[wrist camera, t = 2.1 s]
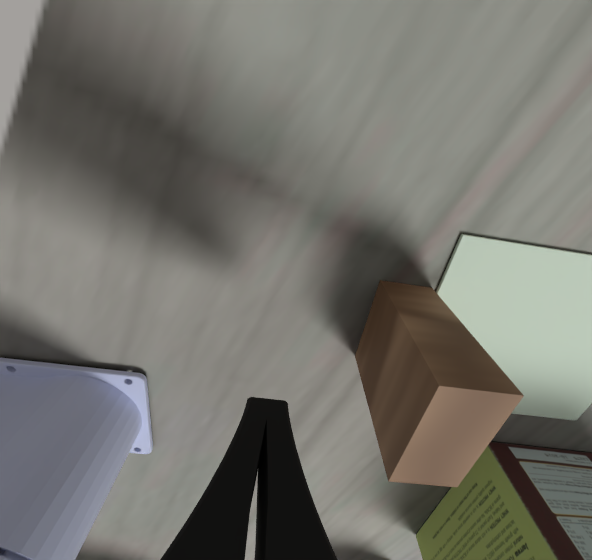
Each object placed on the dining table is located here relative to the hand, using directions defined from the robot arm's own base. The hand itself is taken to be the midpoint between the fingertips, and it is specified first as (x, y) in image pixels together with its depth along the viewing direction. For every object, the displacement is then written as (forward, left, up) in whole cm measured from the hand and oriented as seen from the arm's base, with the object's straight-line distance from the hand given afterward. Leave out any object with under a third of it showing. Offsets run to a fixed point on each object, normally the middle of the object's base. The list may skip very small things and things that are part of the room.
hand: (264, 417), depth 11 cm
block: (+7, 0, -7) cm, 10 cm away
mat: (+16, 0, -7) cm, 17 cm away
